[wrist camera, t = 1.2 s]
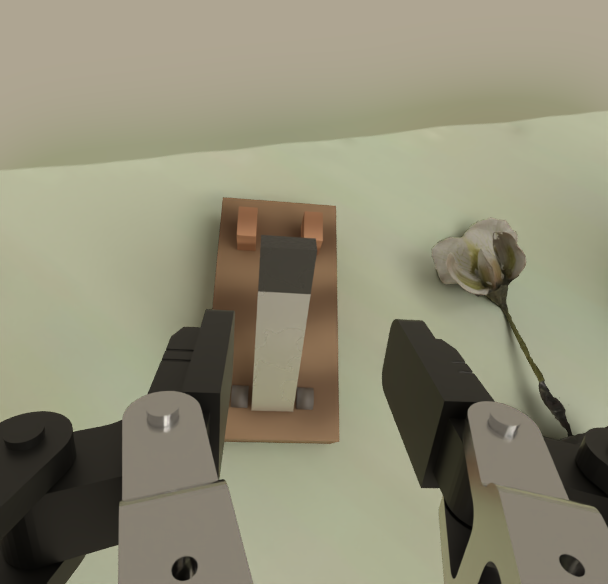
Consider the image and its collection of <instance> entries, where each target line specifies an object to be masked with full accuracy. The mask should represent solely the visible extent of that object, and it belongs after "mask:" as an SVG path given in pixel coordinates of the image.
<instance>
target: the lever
mask: <svg viewBox="0 0 608 584" xmlns="http://www.w3.org/2000/svg"><path fill="white" fill-rule="evenodd" d="M316 256H317V244H316V238H302V237H287V236H272V235H261V246H260V264H259V283H258V301H257V319H256V337H255V356H254V374H253V392H252V411H289V412H293V409H294V402H295V395H296V389H297V382H298V375H299V369H300V362H301V355H302V349H303V342H304V335H305V329H306V322H307V316H308V309H309V302H310V296H311V289H312V282H313V276H314V269H315V262H316Z"/></svg>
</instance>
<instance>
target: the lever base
mask: <svg viewBox="0 0 608 584" xmlns="http://www.w3.org/2000/svg"><path fill="white" fill-rule="evenodd" d="M261 235H272V236H287V237H302V238H316V244H317V256H316V262H315V269H314V276H313V282H312V289H311V296H310V302H309V309H308V316H307V322H306V329H305V335H304V342H303V349H302V355H301V362H300V369H299V375H298V382H297V389H296V395H295V402H294V409H293V412H289V411H252V392H253V374H254V356H255V337H256V319H257V301H258V283H259V264H260V246H261ZM212 309H213V310H232V311H235V325H234V354H233V374H232V386H231V393H230V401H229V409H228V416H227V424H226V431H225V439H224V442H268V443H318V444H331V443H335V442H339V388H338V318H337V248H336V206H329V205H316V204H303V203H290V202H277V201H264V200H251V199H237V198H224V197H223V202H222V212H221V223H220V233H219V244H218V255H217V265H216V276H215V286H214V297H213V307H212Z"/></svg>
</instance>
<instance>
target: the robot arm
mask: <svg viewBox="0 0 608 584" xmlns="http://www.w3.org/2000/svg"><path fill="white" fill-rule="evenodd" d="M234 325H235V311H232V310H213V309H206V311H205V314H204V318H203V321H202V324H201V328H199V327H183V328H182V329H180V330H179V331H178V332H176V333H175V334H174V335H173V336H171V338H170V341H169V343H168V346H167V348H166V351H165V353H164V355H163V358H162V361H161V363H160V365H159V368H158V370H157V372H156V375H155V377H154V380H153V382H152V385H151V387H150V389H149V392H148V394H147V395H145V396H143V397H141V398H139V399H137V400H135V401H134V402H133V403H131V404H130V405H129V406H128V407H127V409H126V410H125V412H124V414H123V419H122V420H120V421H118V422H116V423H113V424H110V425H105V426H101V427H96V428H91V429H85V430H80V431H75V432H73V428H72V424H71V422H70V420H69V419H68V418H66V417H65V416H63V415H61V414H58V413H54V412H46V411H40V412H31V413H25V414H21V415H18V416H15V417H12V418H9V419H7V420H5V421H3V422H1V423H0V584H65V583H66V582H67V581H68V579H69V578H70V577H71V575H72V574H73V573H74V571H75V570H76V569H77V567H78V566H79V565H80V563H81V562H82V560H83V559H84V557H85V555H86V554H89V553H92V552H95V551H99V550H102V549H106V548H109V547H112V546H116V545H119V555H118V584H253V581H252V577H251V573H250V569H249V565H248V562H247V558H246V554H245V550H244V546H243V542H242V538H241V535H240V531H239V527H238V523H237V519H236V515H235V511H234V508H233V504H232V500H231V496H230V492H229V489H228V486H227V483H226V481H225V480H224V479H222V480H219V477H220V469H221V462H222V454H223V447H224V439H225V431H226V424H227V416H228V409H229V401H230V393H231V386H232V374H233V354H234ZM382 386H383V391H384V394H385V396H386V399H387V401H388V404H389V407H390V409H391V412H392V414H393V417H394V419H395V422H396V425H397V427H398V430H399V432H400V435H401V438H402V440H403V443H404V445H405V448H406V450H407V453H408V456H409V458H410V461H411V463H412V466H413V468H414V471H415V474H416V476H417V479H418V481H419V484H420V486H421V488H440V490H441V492H442V494H443V496H442V500H441V503H440V506H439V526H440V538H441V551H442V564H443V576H444V584H608V428H593V429H590V430H588V431H587V432H586V434H585V436H584V438H583V441H582V443H581V445H580V446H579V445H575V444H571V443H567V442H563V441H559V440H555V439H551V438H547V437H543V436H542V434H541V431H540V429H539V427H538V426H537V425H536V423H535V422H534V421H533V420H532V419H531V418H529V417H528V416H527V415H526V414H524V413H522V412H521V411H519V410H517V409H515V408H513V407H511V406H508V405H505V404H502V403H498V402H495V401H494V400H493V399H492V397H491V396H490V395H489V393H488V392H487V390H486V389H485V388H484V386H483V385H482V384H481V382H480V381H479V380H478V378H477V377H476V376H475V374H472V370H471V369H470V368H469V366H468V365H467V364H465V361H464V359H463V358H462V357H461V355H460V354H459V353H458V351H457V350H456V349H455V348H453V347H452V346H450V345H449V344H447V343H446V342H445V341H443V340H442V339H435V337H434V336H433V334H432V333H431V331H430V330H429V328H428V327H427V326H426V324H425V323H424V322H423V321H420V320H401V319H395V320H394V321H393V322H392V325H391V328H390V333H389V339H388V344H387V349H386V354H385V359H384V364H383V370H382Z"/></svg>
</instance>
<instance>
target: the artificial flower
mask: <svg viewBox="0 0 608 584" xmlns="http://www.w3.org/2000/svg"><path fill="white" fill-rule="evenodd" d="M517 239H518V235H517V233H516V231H513V230H512V229H511V227H510V225H509V224H508V222H507V221H506V220H498V219H494V218H487V219H484V220H481V221H478V222H476V223H474V224H473V225H471V226H470V227H469V229H468V230H467V231H466V232H465V233H464V235H463V237H461V238H460V237H449V238H446V239H445V240H443V241H442V240H441V241H439V242H437V243H438V244H436V245H435V246H434V247H433V248H432V257H433V260H434V263H435V269H436V270H437V272H438V276H439V278H440V280H441V281H442V282H443V283H444V284H456V283H458V284H459V285H460V286H461V287H462V288H463V289H465V290H466V291H468V292H470V293H473V294H475V295H477V296H478V297H479V296H482V295H486V296H487V297H488V298H490V299H491V301H493V302H495V303H496V304H497V305H498V306H500V307H501V309H502V310H503V312H504V313H505V314H506V317H507V320H508V321H509V323H510V326H511V328H512V330H513V332H514V334H515V336H516V338H517V340H518V342H519V344H520V346H521V349H522V350H523V352H524V354H525V356H526V358H527V360H528V362H529V364H530V365H531V367H532V369H533V371H534V373H535V375H536V377H537V378H538V381H539V392H540V395H541V398H542V400H543V402H544V404H545V405H546V406H547V407H548V408H549V410H550V411H551V413H552V414H553V415H555V418H556V419H557V420H558V421H559V422H560V423H561V425H562V427H564V428H565V429H566V430H567V432H568V437H567V438H563V439H560V440H559V441H563V442H567V443H571V444H575V445H579V446H580V445H581V443H582V441H583V438H584V436H585V434H586V433H583V434H577V435H576V436H574V435H572V433H571V429H570V425H569V424H568V422H567V419H566V415H565V409H564V407H563V405H562V404H561V403H560V401H559V400H558V399H557V398H554V397H553V396H552V395H551V393H550V392H549V389H548V388H547V386H546V385H545V383H544V381H545V380H544V378H543V375H542V373H541V372H540V370H539V369H538V367H537V366H536V364H535V363H534V362H533V359H532V358H531V357H530V354H529V351H528V349H527V347H526V344H525V343H524V341H523V339H522V338H521V336H520V335H519V333H518V331H517V329H516V327H515V325H514V323H513V322H512V319H511V316H510V314H509V313H508V307H507V304H506V297H507V291H508V285H509V284H510V282H511V281H512V280H514V279H515V278H517V277H518V276H519V274H520V273H521V271H522V270H523V269H524V268H525V265H526V256H525V254H524V252H523V251H522V250H521V249H520V247H519V246H518V245H517ZM559 398H560V397H559ZM605 428H608V426H607V427H605Z"/></svg>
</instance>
